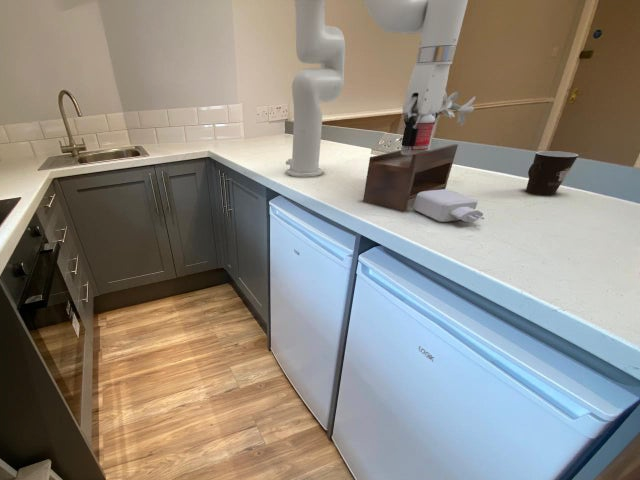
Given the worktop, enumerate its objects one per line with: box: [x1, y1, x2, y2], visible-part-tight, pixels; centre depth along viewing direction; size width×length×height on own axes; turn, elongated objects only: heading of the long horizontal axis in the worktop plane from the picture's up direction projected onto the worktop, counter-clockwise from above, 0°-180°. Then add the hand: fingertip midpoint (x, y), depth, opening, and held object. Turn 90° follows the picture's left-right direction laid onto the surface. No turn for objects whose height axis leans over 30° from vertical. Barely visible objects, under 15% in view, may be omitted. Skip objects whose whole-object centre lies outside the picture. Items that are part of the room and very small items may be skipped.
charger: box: [413, 188, 485, 223], centre depth 78 cm, size 5×9×15 cm
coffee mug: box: [525, 150, 579, 197], centre depth 91 cm, size 12×9×10 cm
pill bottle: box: [400, 106, 435, 156], centre depth 84 cm, size 6×6×11 cm
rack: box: [362, 143, 459, 212], centre depth 90 cm, size 12×20×13 cm, turn 127°
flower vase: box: [400, 90, 476, 151], centre depth 101 cm, size 13×18×25 cm
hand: (415, 143), depth 86 cm, fingers closed on pill bottle, 6 cm apart
